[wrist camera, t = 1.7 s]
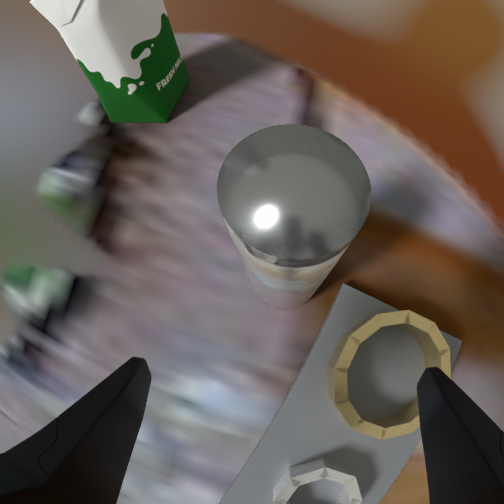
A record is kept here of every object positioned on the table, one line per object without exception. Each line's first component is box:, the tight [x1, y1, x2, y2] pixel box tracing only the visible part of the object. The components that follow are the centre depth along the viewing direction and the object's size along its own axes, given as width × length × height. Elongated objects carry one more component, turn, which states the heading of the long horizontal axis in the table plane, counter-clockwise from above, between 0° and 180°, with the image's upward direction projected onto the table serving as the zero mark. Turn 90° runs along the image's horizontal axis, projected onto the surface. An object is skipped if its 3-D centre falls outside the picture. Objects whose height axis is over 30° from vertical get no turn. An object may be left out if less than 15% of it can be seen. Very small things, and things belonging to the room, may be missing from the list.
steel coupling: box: [217, 124, 371, 309], centre depth 16 cm, size 5×5×13 cm
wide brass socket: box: [327, 310, 451, 440], centre depth 17 cm, size 8×8×2 cm
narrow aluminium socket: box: [273, 457, 362, 504], centre depth 15 cm, size 6×6×2 cm
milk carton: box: [30, 0, 190, 123], centre depth 19 cm, size 9×9×20 cm
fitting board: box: [219, 283, 462, 504], centre depth 17 cm, size 19×11×1 cm, turn 152°
